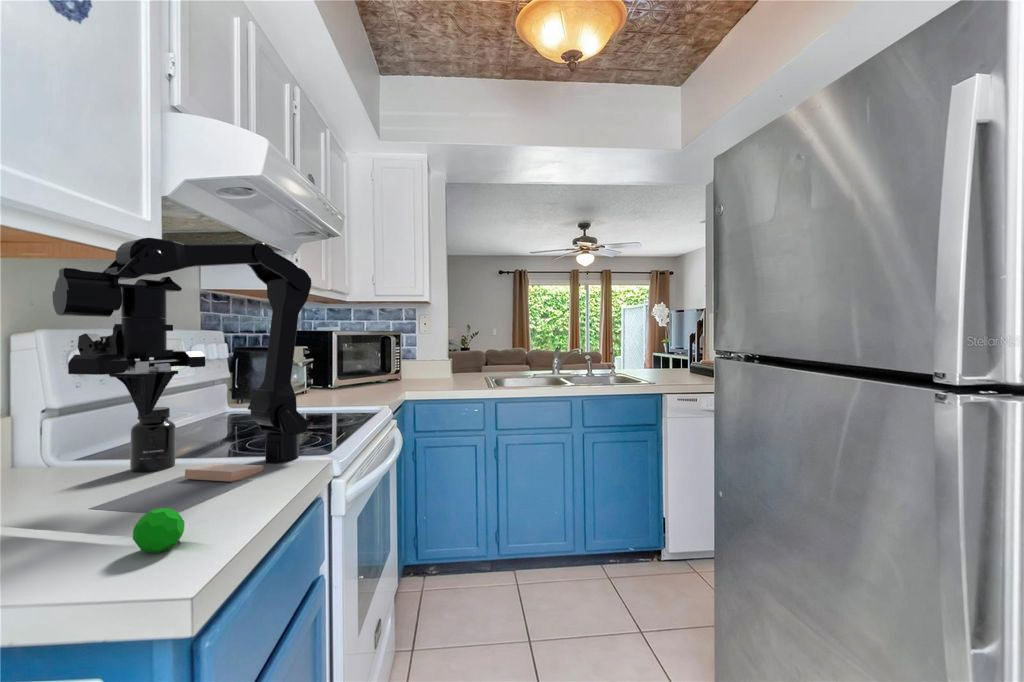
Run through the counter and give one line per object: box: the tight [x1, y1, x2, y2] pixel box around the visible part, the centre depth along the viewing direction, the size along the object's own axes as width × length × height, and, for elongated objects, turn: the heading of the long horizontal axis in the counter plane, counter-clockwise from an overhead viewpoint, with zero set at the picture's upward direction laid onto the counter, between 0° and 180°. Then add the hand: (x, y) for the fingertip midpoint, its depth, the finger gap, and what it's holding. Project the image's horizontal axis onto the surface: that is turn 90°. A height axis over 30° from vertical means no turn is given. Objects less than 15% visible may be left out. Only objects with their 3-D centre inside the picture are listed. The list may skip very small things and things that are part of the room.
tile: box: [184, 462, 264, 482], centre depth 85 cm, size 2×9×8 cm
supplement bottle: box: [129, 406, 177, 474], centre depth 90 cm, size 7×7×12 cm
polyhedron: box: [132, 508, 185, 553], centre depth 57 cm, size 5×5×5 cm
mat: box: [88, 475, 254, 514], centre depth 75 cm, size 16×14×1 cm
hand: (144, 415), depth 76 cm, fingers closed
